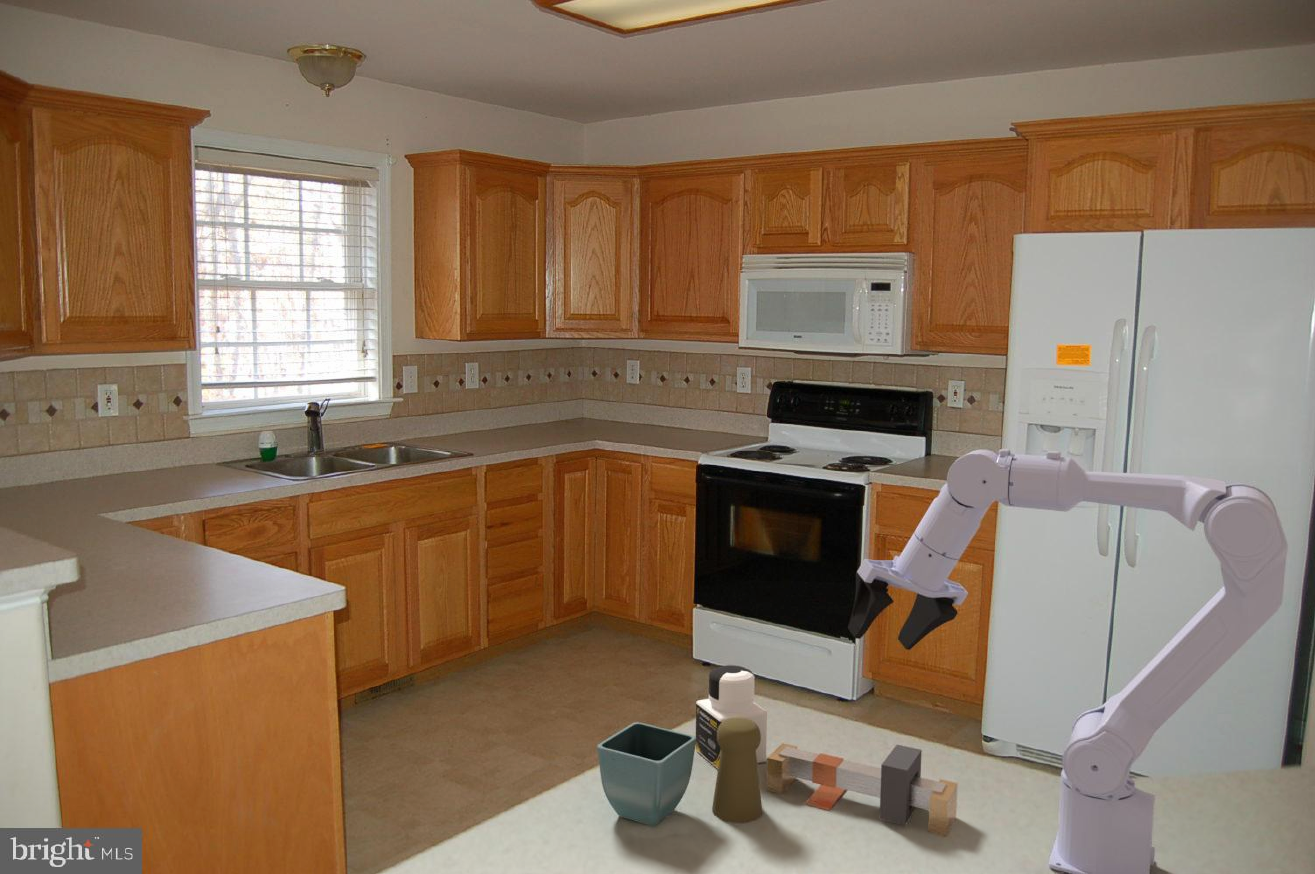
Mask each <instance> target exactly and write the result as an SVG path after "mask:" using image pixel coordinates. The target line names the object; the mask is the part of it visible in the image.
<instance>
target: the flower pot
mask: <svg viewBox="0 0 1315 874" xmlns="http://www.w3.org/2000/svg"><path fill="white" fill-rule="evenodd" d="M596 748H597V756H598V764H599V772H600V773H599V774H600V779H601V780H600V781H601V785H602V789H603V791H604V794H605V796H606V798H607V801H608V802H609V804H610V805H611V807H612V808H613V809H612V810H614V811H615V813H616V814H617V815H618V816H619V817H622V818H625V819H628V820H632V821H635V822H638V823H641V824H644V825H646V826H651V827H654V826H657V825H658V824H659V823H660V822H661V821H662V820H664V819H665V818H667V816H670V814H672V813H673V812H674V811H675V810H676V809H677V807H678V805H679V803H680V802H681V801H682V799H683V797H684V795H685V792H686V791H687V788H688V786H689V783H690V780H691V775H692V771H693V765H694V760H695V759H694V758H695V757H694V756H695V751H696V749H695V748H696V735H693V734H692V735H691V734H688V733H684V732H680V731H675V730H672V729H668V728H663V727H658V726H655V725H652V724H647V723H645V722H644V723H643V722H639V721H635V722H633V723H630V724H629V725H628V726H626V727H624V728H623V729H621V730H620V731H618V732H616V733H614V734H613V735H611V736H610V737H608V738H607V739H605V740H603V741H602V742H600V743H598V744H597V745H596Z"/></svg>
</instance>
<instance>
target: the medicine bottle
mask: <svg viewBox="0 0 1315 874" xmlns="http://www.w3.org/2000/svg"><path fill="white" fill-rule="evenodd" d="M755 677H756V676H755V674H754V673H753V672H752V671H751V670H750V669H748V668H746V667H743V666H740V665H735V664H734V665H733V664H728V665H721V666H718V667H716V668H713V669H711V671H710V672H709V674H708V698H705V699H699V700H697V701H696V702H695V703H696V704H695V737H696V745H695V751H697V753H699V754H700V755H701V756H702V757H703V758H704V759H706V760H707V762H709V763H710V764H711V765H712V766H713V767H714V768H716V769H717V770H718V766H719V760H720V753H721V748H720V746H719V745H718V741H717V730H718V727H719V725H720V724H721V723H722V721H724V720H726V719H729V718H736V717H737V718H746V719H749V720H751V721H753V722H755V723H756V724H757V725H758V727H759V729H760V733H761V741H760V745H759V747H758V748H757V749H756V758H757V764H762V763H765V762H767V743H768V742H767V741H768V738H767V737H768V736H767V735H768V734H767V732H768V729H767V728H768V712H767V710H766V709H764V708H763V707H761V706H760V705H758V704H757V703H755Z"/></svg>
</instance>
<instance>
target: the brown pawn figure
mask: <svg viewBox="0 0 1315 874" xmlns="http://www.w3.org/2000/svg"><path fill="white" fill-rule="evenodd" d="M717 741H718V745H719V746H720V748H721V753H720V760H719V766H718V769H717V774H716V780H715V786H714V794H713V800H712V808H711V812H712V814H713V816H715V818H716V817H717V818H718V819H719V820H722V821H724V822H728V823H733V824H746V823H751V822H754V821H757V820H758V819H760V818H761V817H762V815H763V813H764V812H763V804H762V803H763V802H762V797H761V795H762V793H761V787H760V777H759V768H758V763H757V758H756V749H757V748H758V747H759V745H760V741H761V733H760V729H759V727H758V725H757V724H756V723H755V722H753V721H751V720H749V719H746V718H737V717H736V718H729V719H726V720H724V721H722V723H721V724H720V725H719V727H718V730H717Z"/></svg>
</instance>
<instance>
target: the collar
mask: <svg viewBox="0 0 1315 874" xmlns="http://www.w3.org/2000/svg"><path fill="white" fill-rule="evenodd" d="M922 752H923V751H922V749H919V748H915V747H910V746H905V745H901V744H896V745H895V746H894V748H893V749H892V750H891V752H890V753H889V754H888V756H886V758H885V760H884V761H883V762H882V763H881V765H880V766H881V767H880V768H881V792H880V798H879V799H880V800H879V820H883V821H887V822H890V823H893V824H894V823H895V824H897V825H902V826H906V825H907V823H909V820H910V818H911V817H912V815H913V814H914V812H915V810H916V809H917V807H914V806H910V805H909V793H910V782H911V780H912V779H913V777H914V776H916V777H921V774H922V773H921V771H922V754H923V753H922ZM921 778H922V777H921Z"/></svg>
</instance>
